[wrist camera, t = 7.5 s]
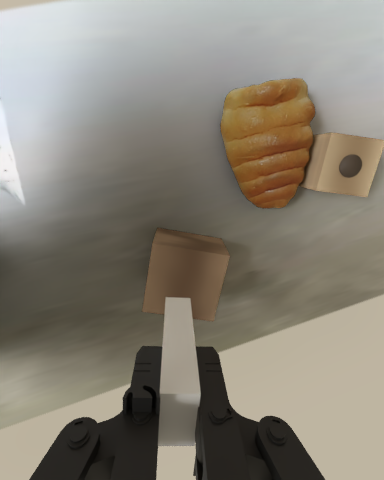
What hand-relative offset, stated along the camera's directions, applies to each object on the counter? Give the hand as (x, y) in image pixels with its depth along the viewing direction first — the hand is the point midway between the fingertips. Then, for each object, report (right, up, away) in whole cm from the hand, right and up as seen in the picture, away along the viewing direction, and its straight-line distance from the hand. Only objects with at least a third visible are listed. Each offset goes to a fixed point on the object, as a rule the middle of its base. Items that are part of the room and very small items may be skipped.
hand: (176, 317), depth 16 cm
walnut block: (0, +3, +9) cm, 9 cm away
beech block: (+12, +11, +7) cm, 18 cm away
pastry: (+5, +11, +7) cm, 14 cm away
